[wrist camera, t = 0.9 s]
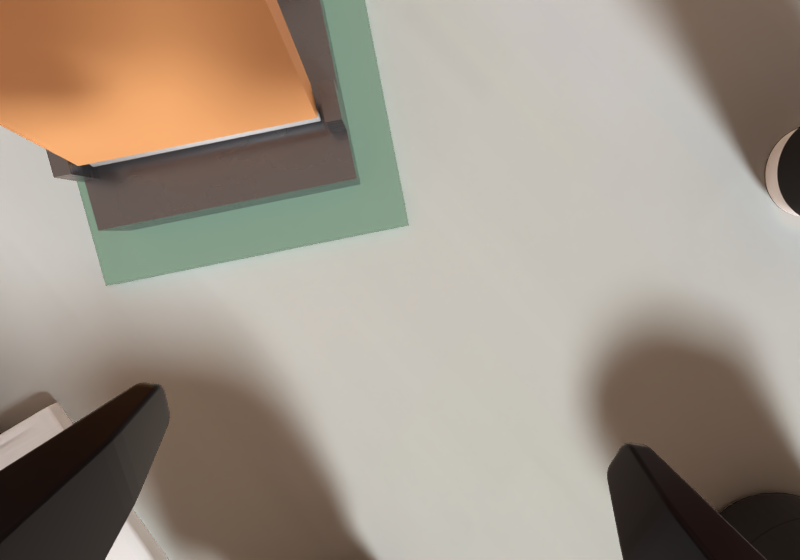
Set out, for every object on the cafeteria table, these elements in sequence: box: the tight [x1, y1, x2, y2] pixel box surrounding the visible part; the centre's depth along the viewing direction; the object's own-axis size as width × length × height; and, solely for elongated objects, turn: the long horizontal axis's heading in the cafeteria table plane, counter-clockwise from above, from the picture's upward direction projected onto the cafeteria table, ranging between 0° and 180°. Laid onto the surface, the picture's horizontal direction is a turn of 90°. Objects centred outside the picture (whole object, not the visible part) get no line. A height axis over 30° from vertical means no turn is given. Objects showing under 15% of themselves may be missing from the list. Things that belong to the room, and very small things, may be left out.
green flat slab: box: [77, 0, 409, 286], centre depth 22 cm, size 22×16×1 cm
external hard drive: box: [0, 402, 169, 560], centre depth 25 cm, size 2×8×12 cm
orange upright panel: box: [0, 0, 321, 167], centre depth 14 cm, size 2×10×11 cm, turn 99°
